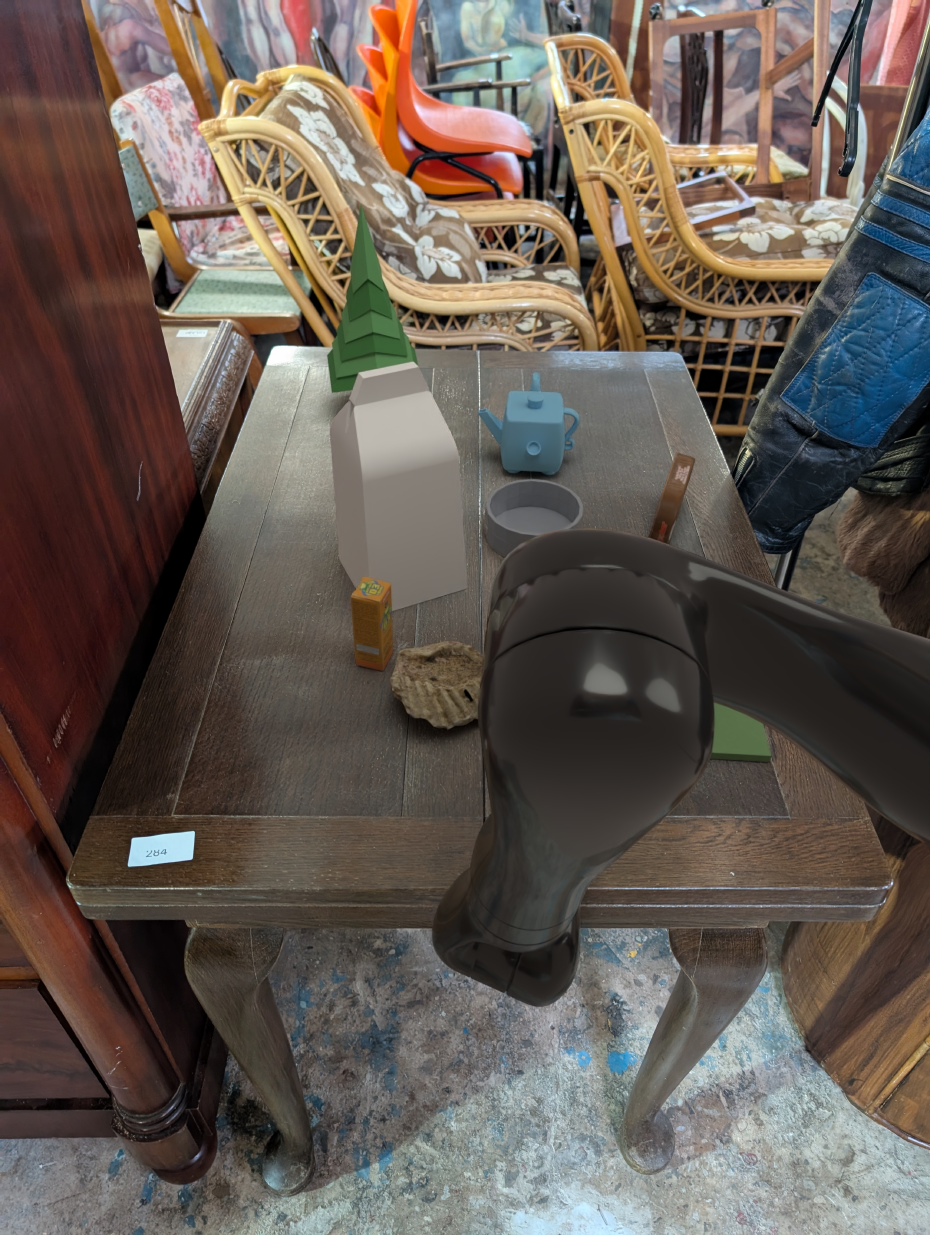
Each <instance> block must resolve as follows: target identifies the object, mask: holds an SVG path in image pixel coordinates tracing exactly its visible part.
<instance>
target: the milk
mask: <svg viewBox="0 0 930 1235" xmlns="http://www.w3.org/2000/svg"><path fill="white" fill-rule="evenodd" d="M329 438H330V439H329V440H330V452H331V466H332V478H333V492H334V504H335V506H334V508H335V518H336V531H337V544H338V545H337V547H338V558H339V562H340V564H341V566H342V567H343V569H344V571H345V572H346V574H347V576H348V578H349V579H350V581H351V584H352V585H353V587H354V588H355V590H356V589H357V587H358V586H359V584H360V583H361V579H362V577H368V578H372V579H376V580H381V581H384V582H388V583H390V584H391V598H392V612H395V611H398V610H401V609H405V608H408V607H412V606H415V605H419V604H421V603H424V602H428V601H431V600H434V599H437V598H438V599H439V598H440V597H444V596H447V595H450V594H453V593H458V592H460V591H463V590H467V589H468V588H469V586H468V573H467V558H466V541H465V529H464V528H465V527H464V515H463V513H464V512H463V499H462V484H461V470H460V469H461V468H460V467H461V466H460V457H459V456H460V455H459V450H458V447H457V444H456V441H455V439H454V436H453V435H452V432H451V430H450V428H449V426H448V424H447V422H446V419H445V418H444V416H443V414H442V412H441V409H440V408H439V406H438V404H437V402H436V400H435V398H434V396H433V393H432V392H431V391H430V388H429V385H428V383H427V381H426V379H425V377H424V375H423V373H422V371H421V368H420V367H419V365H418V366H417V365H416V364H415V363H414V362H409V363H404V364H399V365H394V366H389V367H384V368H379V369H374V370H369V371H364V372H359V373H358V376H357V379H356V381H355V384H354V387H353V390H351V393H350V395H349V400H348V401H347V402H346V403H345V404H344V406H342V407H341V409H340V410H339V411H338V413H336V415H334V417H333V418H332V420H331V423H330V427H329Z"/></svg>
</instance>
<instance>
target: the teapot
mask: <svg viewBox="0 0 930 1235" xmlns="http://www.w3.org/2000/svg"><path fill="white" fill-rule="evenodd" d="M529 388H530V389H529V390H511V391H509V393H508V395H507V400H506V404H505V409H504V414H503V418H502V420H500V419H499V418H498V417H497V416H496V415H494V413H493V412H491V410H489V409H488V407H486V408H481V409H478V412H477V414H478V416H479V417H480V419H481V421H482V422H483V424H484V426H486V428H487V429H488V431H489V432H490V434H491V435H492V437H493V438H494V440H495V441H496V443H497V445H499V446H500V447H499V448H500V459H501V463H502V467H503V469H504V470H505V471H506V472H508V473H510V474H518V473H520V472H521V471H522V472H541V474H543V475H546V476H552V475H554V474H556V473H557V472H559V471H560V469H561V467H562V464H563V460H564V454H565V451H571V450H572V449H574V447H575V445H576V442H575V441H576V440H575V439H574V437H573V438H572V436H573V435H574V434H575V433H576V431H577V429H578V427H579V425H580V423H581V422H580V421H581V418H580V415H579V414H578V412H577V411H576V410H575V409H573V408H570V407H564V399H563V395H562V394H561V393H560V392H555V391H554V392H553V391H542V390H541V375H540V373H539V372H536V371H535V372H534V373H533V374H532V377H531V383H530V387H529ZM565 415H568V416H570V417H572V418H573V419H574V420H573V423H572V425H571V427H570V428H569V429H568V430H567V432H566V419H565ZM567 442H569V443H568V444H567Z"/></svg>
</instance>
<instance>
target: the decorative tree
mask: <svg viewBox="0 0 930 1235" xmlns="http://www.w3.org/2000/svg"><path fill="white" fill-rule="evenodd" d="M362 205H363V204H360V207H359V213H358V218H357V219H358V220H357V224H356V230H355V231H356V232H355V236H354V237H355V238H354V242H353V249H352V256H351V262H350V269H349V271H350V272H349V273H350V281H349V284H348V288H347V290H346V294H345V300H346V302H345V305H344V307H343V309H342V312H341V316H340V317H341V321H340V322H339V324H338V326H337V328H336V336H335V337H334V339H333V341H332V342H331V347H332V348H331V350H330V351H329V352H328V353H327V355H326V359H327V367H328V374H329V383H330V391H331V394H335V393H343V392H349V391H351V392H352V390H353V387H354V384H355V381H356V379H357V376H358V373H359V372H364V371H369V370H374V369H379V368H384V367H389V366H394V365H399V364H404V363H409V362H414V363H415V364H416V365H417V366H418V367H419V363H418V357H417V352H416V348H415V347H414V346H413V345H412V344H411V343H410V342H411V341H410V337H409V336H408V335H407V334H406V332H405V331H404V325H403V323H402V322H401V320H399V318H398V316H397V310H396V308H395V307H394V304H393V303H392V302H391V298H390V293H389V290H388V288H387V286H386V283H385V281H384V279H383V273H382V266H381V264H380V260H379V257H378V253H377V251H376V248H375V244H374V240H373V238H372V234H371V231H370V228H369V225H368V222H367V218H366V216H365V211H364V208H363V206H362Z"/></svg>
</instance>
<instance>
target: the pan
mask: <svg viewBox="0 0 930 1235" xmlns="http://www.w3.org/2000/svg"><path fill="white" fill-rule="evenodd" d="M584 509H585V508H584V504H583V502H582V500H581V497H579V496H578V494H576V493H575V491H574V490H572V489H571V488H569V487H566V486H565V485H563V484H561V483H558V482H554V481H550V480H547V479H537V478H525V479H516V480H513V481H509V482H506V483H503V484H501V485H500V486H498V487H496V488H495V489H493V491H492V492H490V494H489V495H488V496H487V499H486V503H485V514H484V516H485V518H484V519H485V520H484V522H485V524H484V532H485V539H486V542H487V544H488V545H489V547H490V549H492V550H493V551H494V552H495V553H496V554H498V555H499V556H501V557H503V558H505V557H506V556H507V555H508V554H509V553H510V552H511V551H513V550H514V549H515V548H516V547H518V546H519V545H520V544H522V543H523V542H525V541H527V540H530V539H532V538H534V537H536V536H538V535H541V534H545V533H549V532H554V531H558V530H563V529H576V528H582V523H583V517H584V516H583V515H584Z"/></svg>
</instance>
